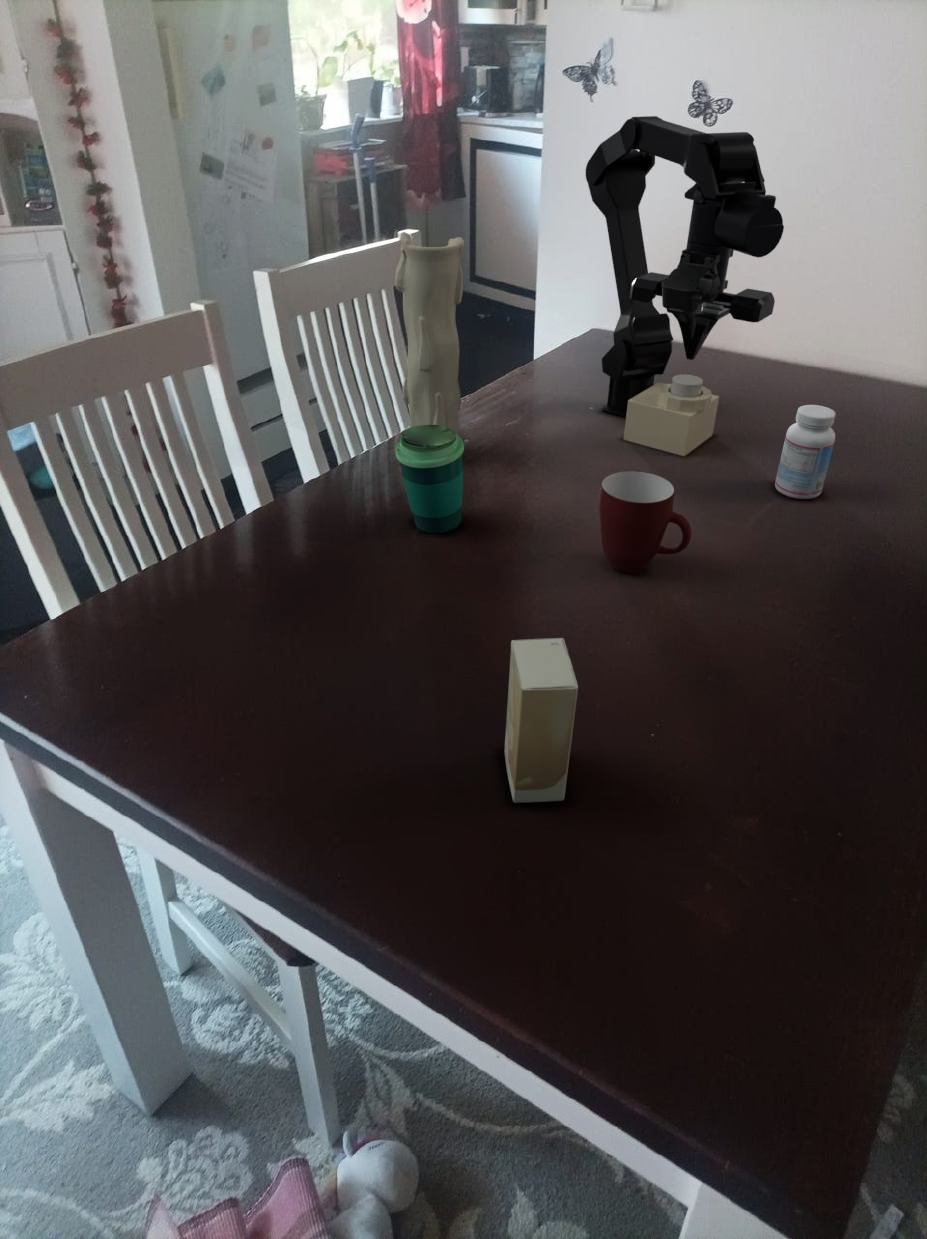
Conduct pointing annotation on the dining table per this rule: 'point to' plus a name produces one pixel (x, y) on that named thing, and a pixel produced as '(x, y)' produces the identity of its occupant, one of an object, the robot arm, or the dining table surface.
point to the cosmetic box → (539, 719)
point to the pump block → (670, 419)
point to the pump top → (686, 386)
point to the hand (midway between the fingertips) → (690, 359)
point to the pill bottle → (806, 453)
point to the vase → (431, 330)
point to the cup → (432, 476)
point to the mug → (637, 519)
